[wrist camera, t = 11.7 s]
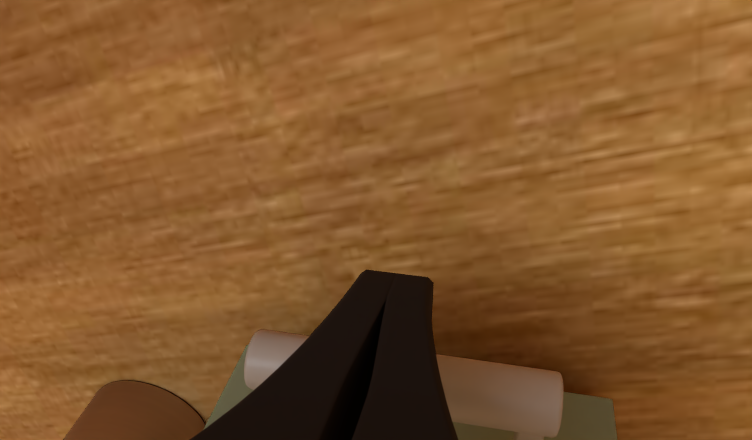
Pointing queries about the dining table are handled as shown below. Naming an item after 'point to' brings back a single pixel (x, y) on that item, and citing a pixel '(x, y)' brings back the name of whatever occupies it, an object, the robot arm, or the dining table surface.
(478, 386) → the drawer
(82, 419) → the measuring cup
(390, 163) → the dining table surface
